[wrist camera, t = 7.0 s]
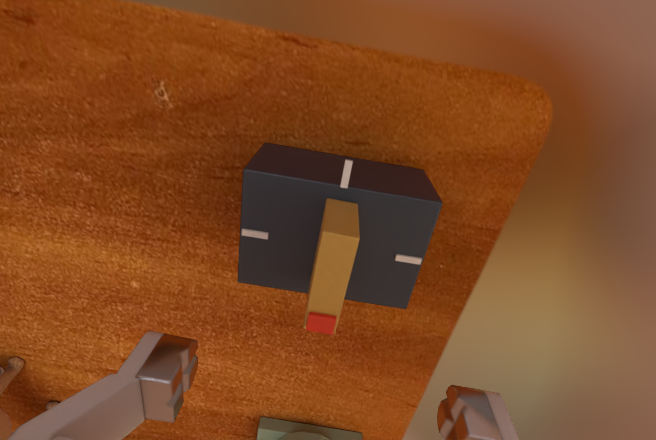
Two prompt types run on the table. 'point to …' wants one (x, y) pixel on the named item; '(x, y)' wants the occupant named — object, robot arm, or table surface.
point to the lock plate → (307, 213)
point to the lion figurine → (3, 429)
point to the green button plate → (300, 431)
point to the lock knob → (332, 266)
